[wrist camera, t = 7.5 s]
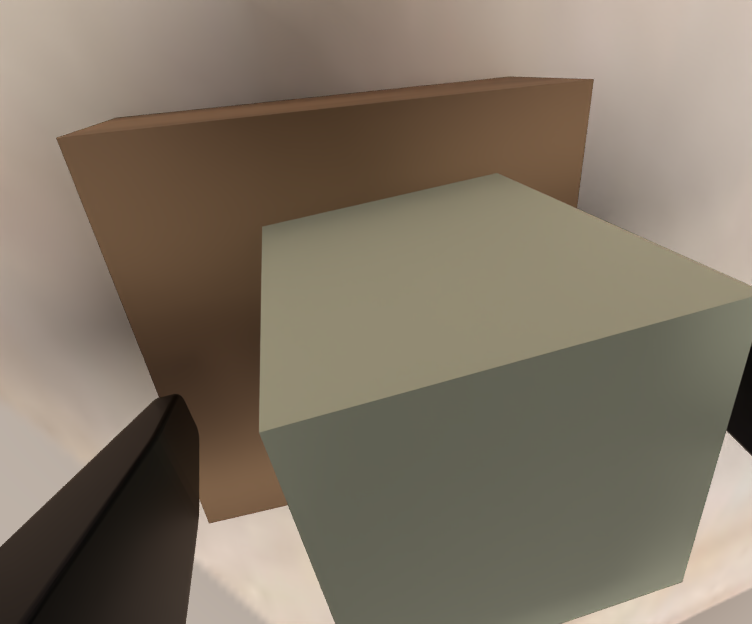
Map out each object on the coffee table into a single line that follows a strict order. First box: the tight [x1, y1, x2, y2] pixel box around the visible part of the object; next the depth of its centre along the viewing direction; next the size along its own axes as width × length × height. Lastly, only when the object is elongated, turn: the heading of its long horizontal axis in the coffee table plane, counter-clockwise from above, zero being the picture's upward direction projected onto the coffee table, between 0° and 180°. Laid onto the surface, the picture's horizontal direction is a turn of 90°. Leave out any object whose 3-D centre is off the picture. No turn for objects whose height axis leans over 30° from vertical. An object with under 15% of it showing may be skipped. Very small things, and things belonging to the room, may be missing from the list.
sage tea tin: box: [259, 173, 752, 624], centre depth 8 cm, size 5×5×6 cm
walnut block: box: [56, 77, 594, 523], centre depth 13 cm, size 10×10×4 cm
